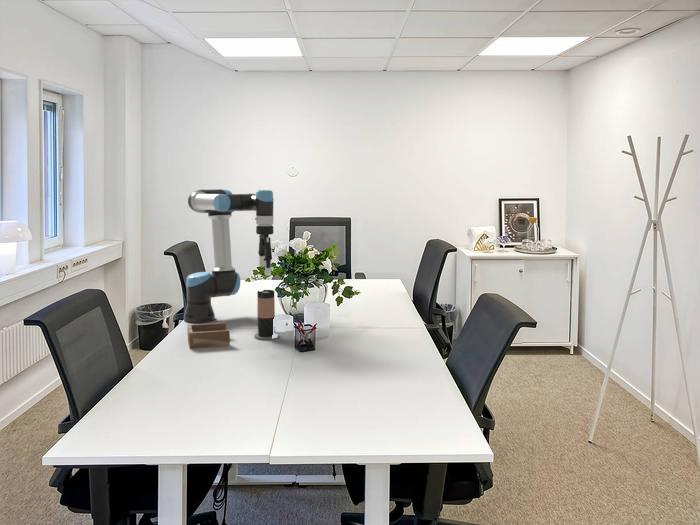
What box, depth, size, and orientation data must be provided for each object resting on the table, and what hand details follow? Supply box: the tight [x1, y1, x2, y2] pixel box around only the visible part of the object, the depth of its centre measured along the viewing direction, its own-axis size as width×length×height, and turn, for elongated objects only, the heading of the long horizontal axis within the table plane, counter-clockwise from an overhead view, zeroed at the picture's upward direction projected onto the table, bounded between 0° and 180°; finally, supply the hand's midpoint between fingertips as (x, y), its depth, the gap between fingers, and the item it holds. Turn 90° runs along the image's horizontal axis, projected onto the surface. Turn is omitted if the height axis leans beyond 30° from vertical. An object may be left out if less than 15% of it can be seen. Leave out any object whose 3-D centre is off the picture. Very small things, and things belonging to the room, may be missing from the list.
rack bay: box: [186, 322, 231, 349], centre depth 254 cm, size 15×16×6 cm
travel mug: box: [256, 289, 276, 337], centre depth 263 cm, size 8×8×20 cm
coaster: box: [253, 332, 272, 341], centre depth 265 cm, size 11×11×1 cm
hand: (265, 272), depth 264 cm, fingers open, 13 cm apart
